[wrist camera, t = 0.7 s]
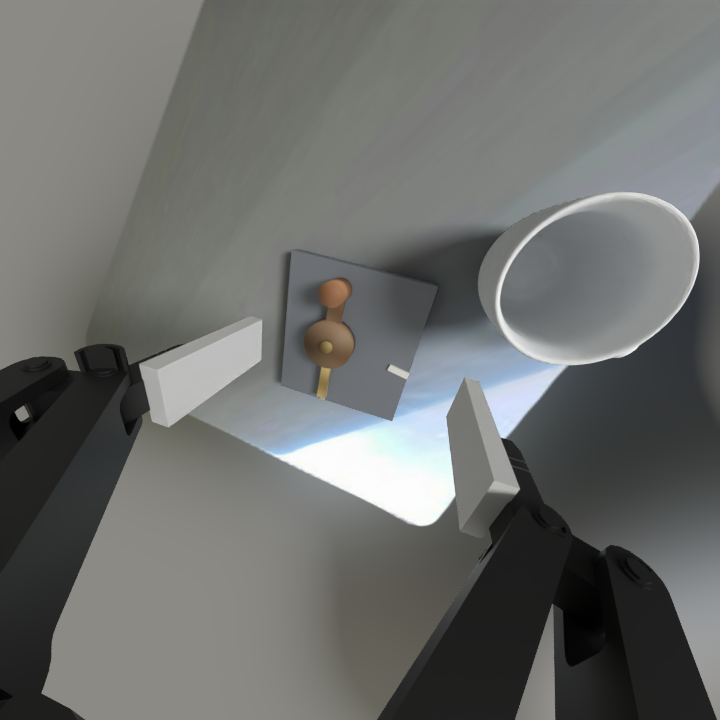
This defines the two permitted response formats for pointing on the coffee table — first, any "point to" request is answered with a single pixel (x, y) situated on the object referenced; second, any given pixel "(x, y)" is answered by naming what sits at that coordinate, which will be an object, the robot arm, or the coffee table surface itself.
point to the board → (356, 331)
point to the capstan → (330, 332)
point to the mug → (589, 277)
